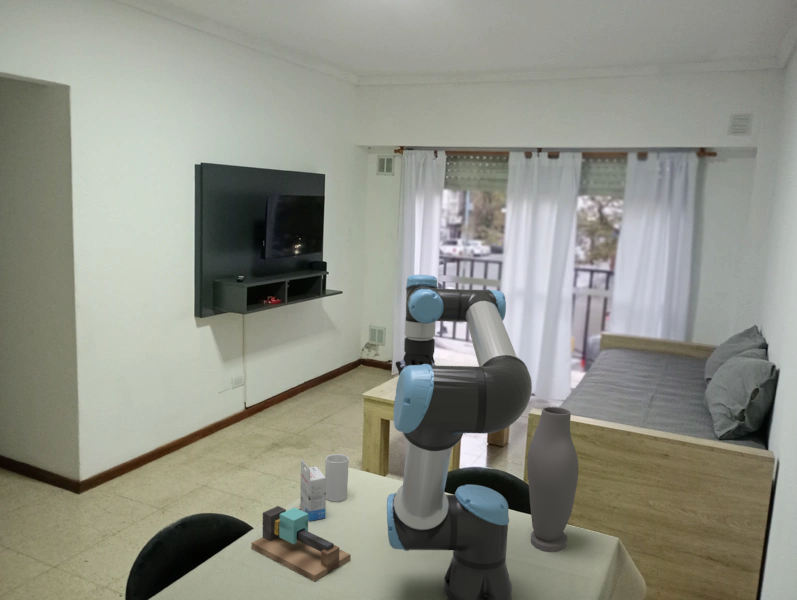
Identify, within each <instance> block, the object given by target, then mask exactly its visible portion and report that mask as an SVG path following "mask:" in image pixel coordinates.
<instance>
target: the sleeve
mask: <svg viewBox="0 0 797 600" xmlns="http://www.w3.org/2000/svg"><path fill="white" fill-rule="evenodd" d="M301 529H304V530H306V531H308V532H309V520H308V513H306V512H303V511H302V510H301V509H299V508H297V507H292V508H290V509H288V510H286V511H285V512H283V513H281V514H280V528H279V537H280V538H282V539H284V540H286V541H288V542H290V543H292V544H295V543H297V531H299V530H301Z"/></svg>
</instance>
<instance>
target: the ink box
mask: <svg viewBox="0 0 797 600" xmlns="http://www.w3.org/2000/svg"><path fill="white" fill-rule="evenodd" d="M299 496H300V501H299V503H300V504H299V507H300V509H299V510H301V511H303V512H306V513H308V522H312V521H317V520H323V519H326V511H327V510H326V508H327V507H326V503H327V501H326V500H327V499H326V477H325V474H324V473H323V472H322V471H321V470H320V468H318V466H312V467H309V466H308V464H307V463H306V462H305V461H304V460H303V459H302V458H301V459H300V495H299Z"/></svg>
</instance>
